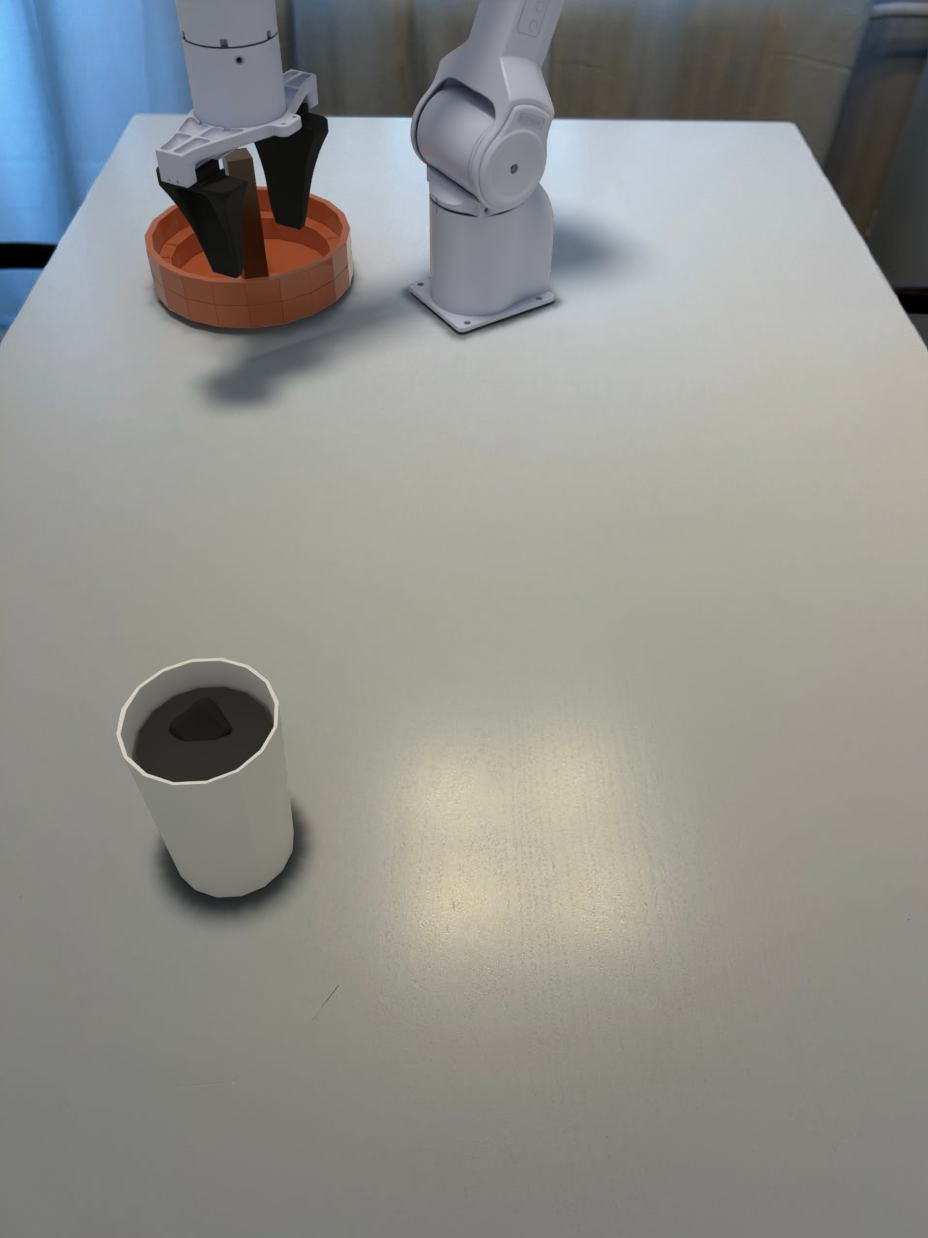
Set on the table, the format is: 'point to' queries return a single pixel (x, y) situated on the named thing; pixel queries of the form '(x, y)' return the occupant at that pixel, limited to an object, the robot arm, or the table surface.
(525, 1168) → the table surface
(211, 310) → the bowl
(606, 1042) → the table surface
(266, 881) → the white cup
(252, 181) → the stick
